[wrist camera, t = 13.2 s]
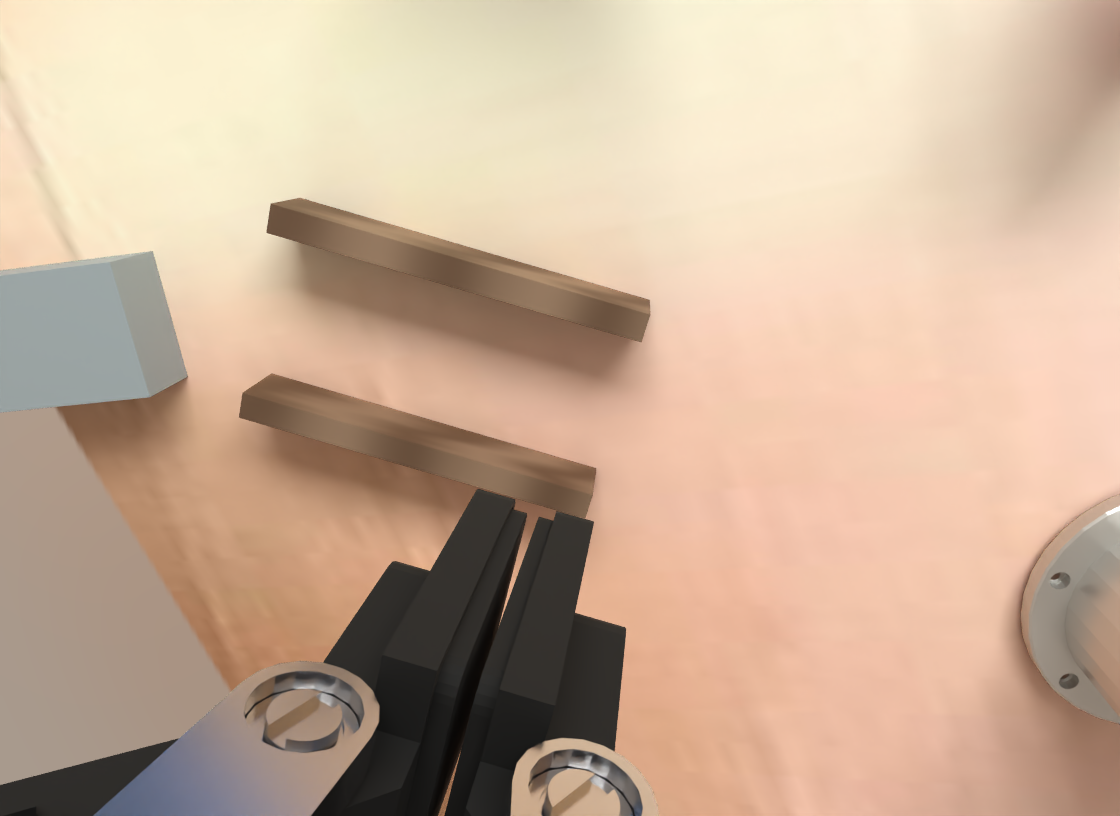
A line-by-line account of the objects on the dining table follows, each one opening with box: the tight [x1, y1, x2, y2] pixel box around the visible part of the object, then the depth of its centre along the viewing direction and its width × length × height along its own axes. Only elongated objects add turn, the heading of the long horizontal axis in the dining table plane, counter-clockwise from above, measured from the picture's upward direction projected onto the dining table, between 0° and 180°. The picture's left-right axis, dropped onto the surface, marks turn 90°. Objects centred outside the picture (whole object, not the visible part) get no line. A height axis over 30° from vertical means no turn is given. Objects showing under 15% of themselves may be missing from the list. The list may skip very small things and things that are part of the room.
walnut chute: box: [239, 198, 650, 518], centre depth 36 cm, size 16×10×3 cm, turn 75°
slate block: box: [0, 251, 188, 412], centre depth 38 cm, size 8×6×4 cm
